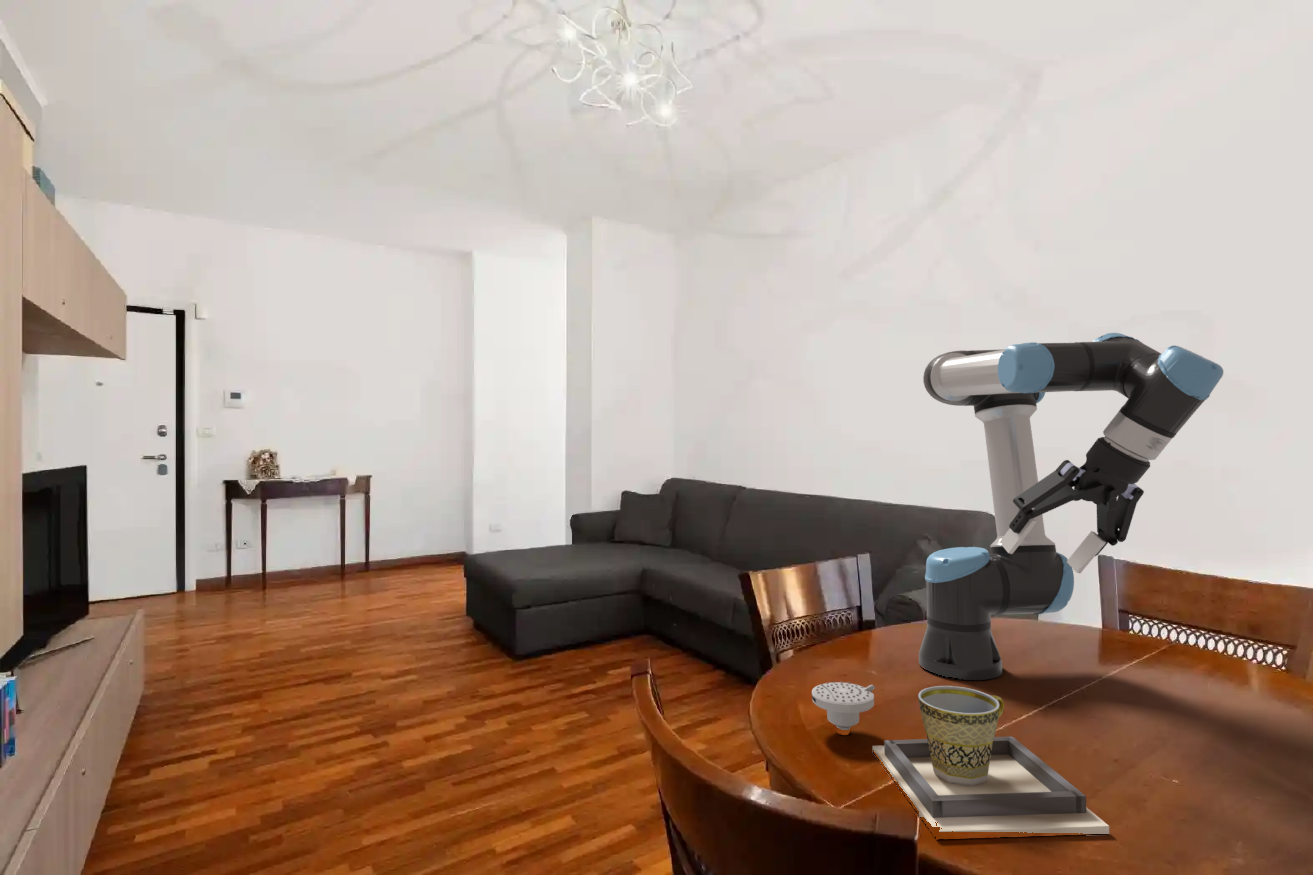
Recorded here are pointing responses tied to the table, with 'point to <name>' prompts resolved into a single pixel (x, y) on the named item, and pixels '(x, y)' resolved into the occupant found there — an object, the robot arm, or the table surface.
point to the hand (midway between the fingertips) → (1039, 558)
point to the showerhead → (843, 702)
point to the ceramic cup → (960, 731)
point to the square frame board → (991, 792)
